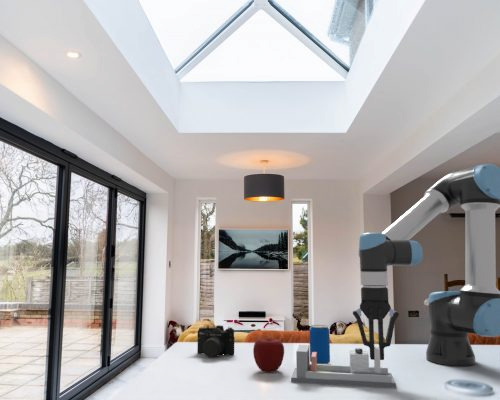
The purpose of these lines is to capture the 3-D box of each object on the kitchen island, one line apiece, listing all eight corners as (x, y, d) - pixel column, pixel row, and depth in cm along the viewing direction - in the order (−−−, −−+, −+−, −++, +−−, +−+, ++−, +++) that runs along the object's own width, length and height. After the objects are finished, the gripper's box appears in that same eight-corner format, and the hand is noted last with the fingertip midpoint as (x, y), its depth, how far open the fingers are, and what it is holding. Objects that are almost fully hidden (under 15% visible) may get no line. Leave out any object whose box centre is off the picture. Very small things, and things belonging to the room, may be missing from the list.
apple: (274, 377, 127) (274, 341, 128) (247, 372, 132) (247, 338, 133) (289, 370, 135) (289, 336, 136) (263, 366, 140) (262, 333, 141)
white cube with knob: (368, 372, 126) (367, 347, 127) (369, 377, 120) (368, 351, 121) (350, 371, 127) (349, 346, 128) (350, 376, 121) (350, 350, 122)
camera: (188, 357, 152) (188, 328, 154) (201, 351, 162) (201, 323, 164) (225, 360, 148) (225, 330, 149) (236, 354, 158) (236, 325, 159)
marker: (316, 369, 129) (316, 352, 130) (315, 375, 123) (315, 356, 124) (312, 369, 129) (312, 351, 130) (311, 374, 123) (311, 356, 124)
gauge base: (391, 377, 127) (390, 348, 128) (396, 388, 116) (394, 356, 117) (295, 372, 132) (294, 344, 134) (291, 382, 122) (290, 351, 123)
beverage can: (329, 366, 139) (329, 327, 141) (309, 365, 141) (308, 327, 142) (330, 361, 146) (329, 324, 147) (310, 360, 147) (310, 324, 149)
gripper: (396, 285, 128) (400, 369, 125) (350, 285, 131) (353, 367, 128) (399, 287, 121) (403, 376, 118) (351, 287, 124) (354, 374, 121)
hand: (377, 371), depth 123 cm, fingers closed
